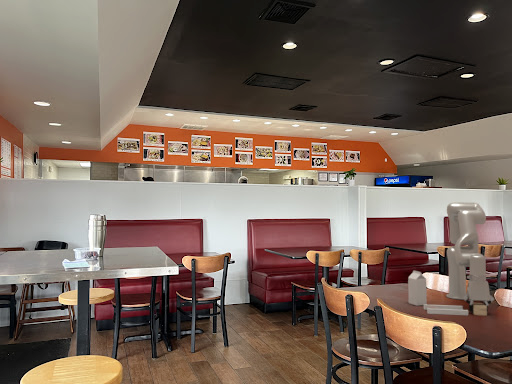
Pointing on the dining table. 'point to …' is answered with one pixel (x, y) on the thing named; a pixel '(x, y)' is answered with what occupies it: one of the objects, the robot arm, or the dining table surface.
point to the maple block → (479, 309)
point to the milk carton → (417, 289)
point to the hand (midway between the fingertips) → (478, 312)
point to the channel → (445, 309)
